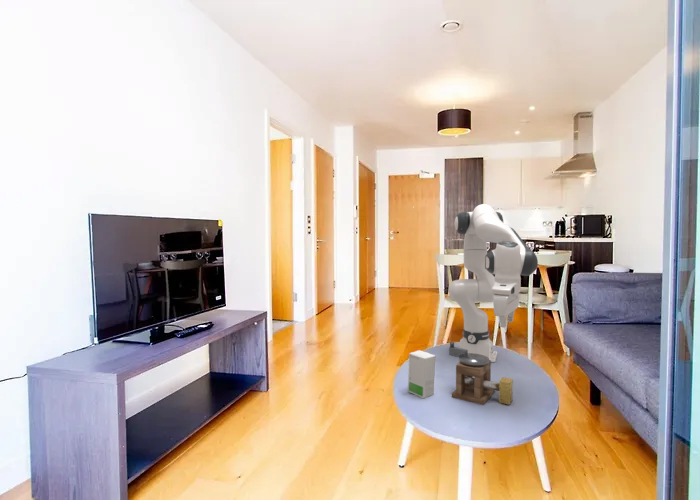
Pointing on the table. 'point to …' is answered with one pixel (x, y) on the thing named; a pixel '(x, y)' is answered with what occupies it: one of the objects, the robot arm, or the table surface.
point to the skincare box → (421, 373)
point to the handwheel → (468, 356)
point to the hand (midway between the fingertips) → (506, 324)
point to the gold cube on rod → (497, 388)
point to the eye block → (477, 391)
